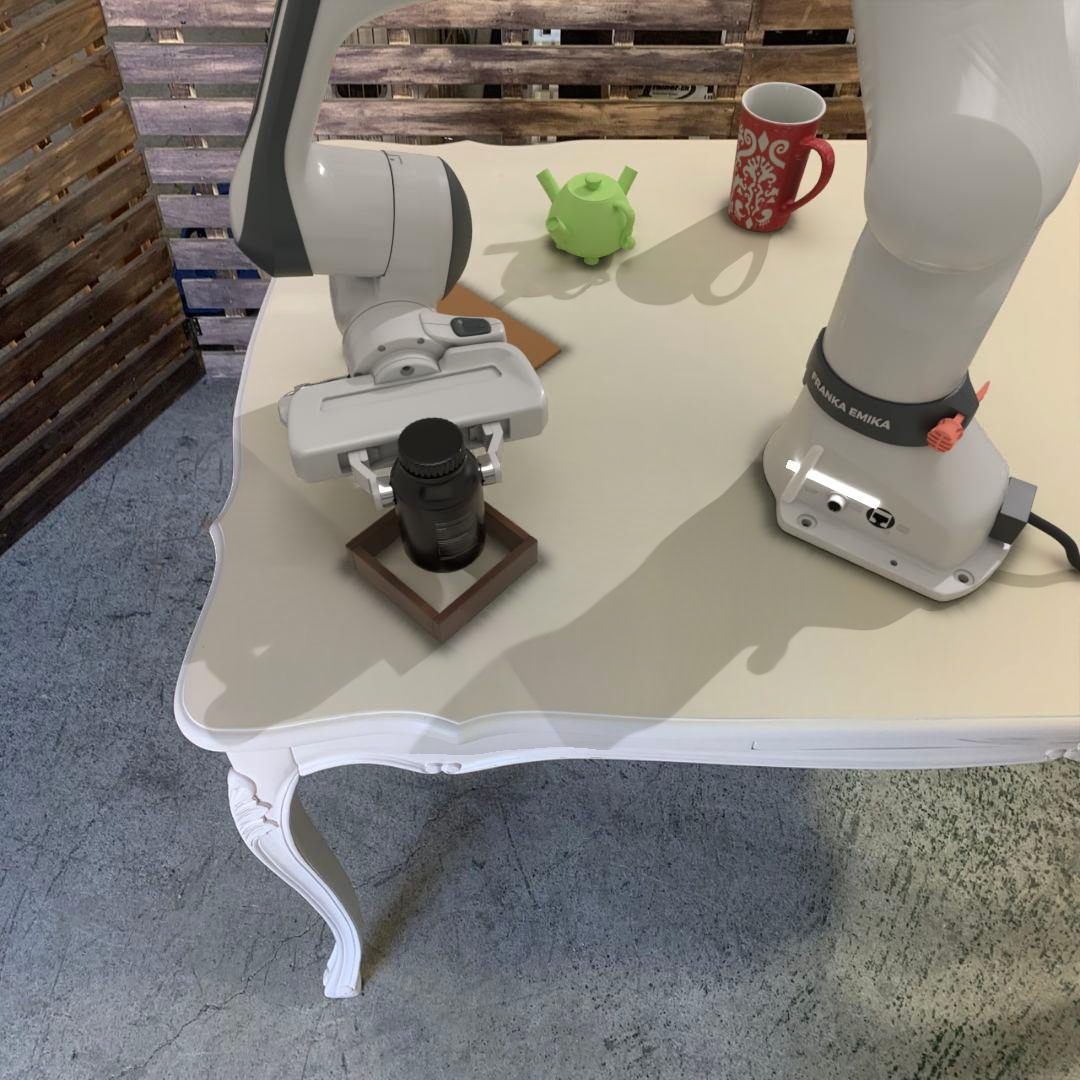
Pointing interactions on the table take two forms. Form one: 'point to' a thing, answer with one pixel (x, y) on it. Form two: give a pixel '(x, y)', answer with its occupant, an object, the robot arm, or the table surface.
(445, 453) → the supplement bottle
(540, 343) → the cork mat
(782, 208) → the mug
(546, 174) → the teapot
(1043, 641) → the table surface
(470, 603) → the frame
